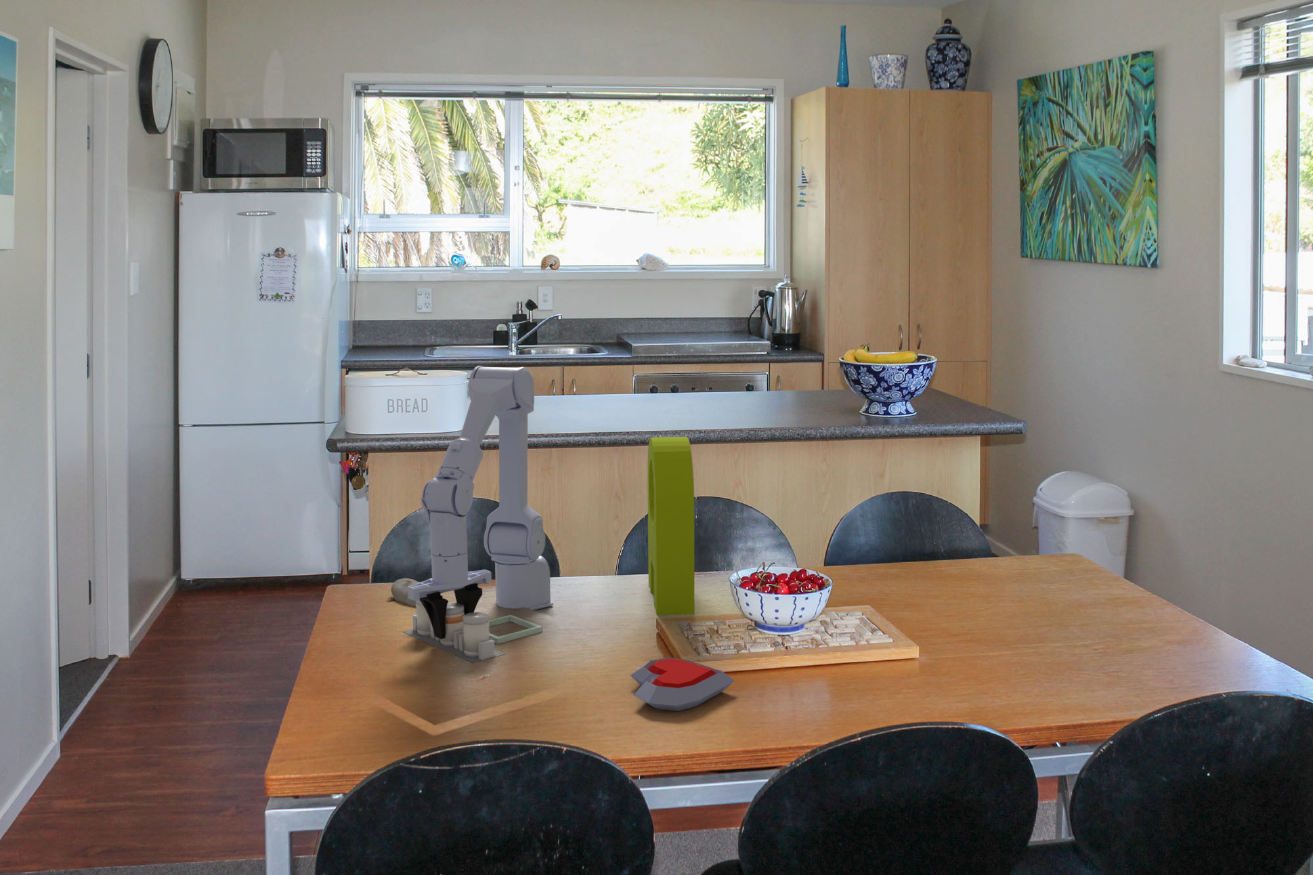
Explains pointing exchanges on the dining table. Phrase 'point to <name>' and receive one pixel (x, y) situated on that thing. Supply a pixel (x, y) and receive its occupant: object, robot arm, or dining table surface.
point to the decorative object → (671, 525)
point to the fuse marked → (452, 622)
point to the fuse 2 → (474, 632)
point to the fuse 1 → (422, 620)
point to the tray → (532, 630)
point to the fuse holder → (457, 644)
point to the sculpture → (678, 683)
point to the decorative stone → (403, 590)
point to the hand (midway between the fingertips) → (452, 634)
